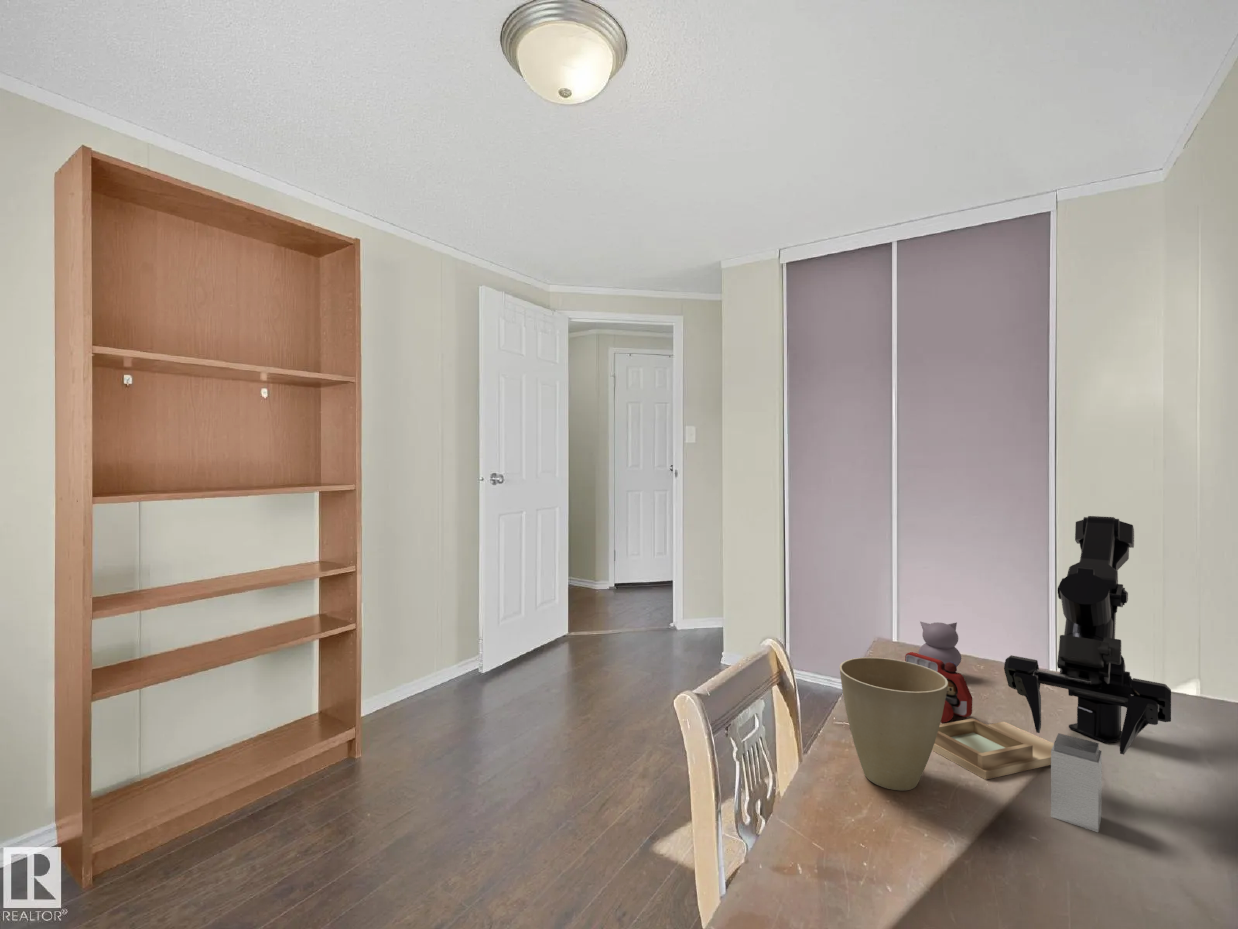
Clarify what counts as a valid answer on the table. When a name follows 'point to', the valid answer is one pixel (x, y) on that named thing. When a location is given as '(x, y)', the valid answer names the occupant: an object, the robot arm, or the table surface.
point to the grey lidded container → (1076, 781)
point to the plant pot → (892, 717)
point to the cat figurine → (940, 642)
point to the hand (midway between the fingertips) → (1078, 741)
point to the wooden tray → (991, 748)
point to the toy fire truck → (957, 689)
